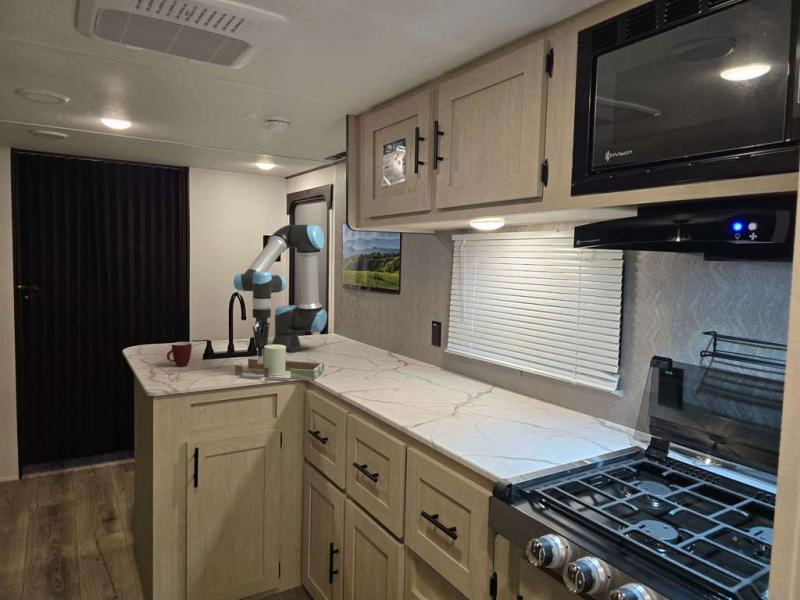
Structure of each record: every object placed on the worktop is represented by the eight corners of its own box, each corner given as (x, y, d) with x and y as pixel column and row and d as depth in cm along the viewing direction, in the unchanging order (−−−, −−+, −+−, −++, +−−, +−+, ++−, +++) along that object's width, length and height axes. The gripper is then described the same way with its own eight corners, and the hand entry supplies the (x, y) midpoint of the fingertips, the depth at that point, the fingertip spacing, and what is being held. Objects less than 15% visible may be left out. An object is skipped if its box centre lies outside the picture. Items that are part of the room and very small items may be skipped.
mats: (241, 375, 223) (241, 374, 223) (290, 378, 220) (290, 378, 220) (237, 377, 219) (237, 377, 219) (287, 381, 216) (287, 380, 216)
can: (275, 376, 222) (275, 348, 221) (258, 373, 227) (259, 345, 226) (290, 372, 230) (290, 345, 229) (274, 369, 235) (274, 342, 234)
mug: (173, 369, 229) (173, 346, 228) (163, 366, 234) (162, 344, 233) (195, 365, 238) (195, 343, 237) (184, 362, 243) (184, 341, 242)
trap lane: (249, 367, 237) (249, 358, 237) (323, 372, 232) (323, 363, 232) (235, 375, 223) (235, 365, 223) (314, 380, 219) (314, 370, 218)
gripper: (259, 306, 233) (258, 359, 235) (246, 309, 220) (246, 365, 222) (275, 307, 232) (275, 360, 234) (264, 310, 219) (263, 367, 221)
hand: (261, 363), depth 228 cm, fingers closed
